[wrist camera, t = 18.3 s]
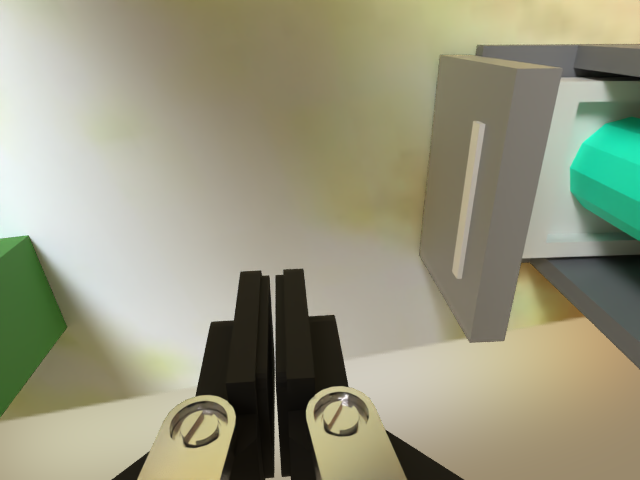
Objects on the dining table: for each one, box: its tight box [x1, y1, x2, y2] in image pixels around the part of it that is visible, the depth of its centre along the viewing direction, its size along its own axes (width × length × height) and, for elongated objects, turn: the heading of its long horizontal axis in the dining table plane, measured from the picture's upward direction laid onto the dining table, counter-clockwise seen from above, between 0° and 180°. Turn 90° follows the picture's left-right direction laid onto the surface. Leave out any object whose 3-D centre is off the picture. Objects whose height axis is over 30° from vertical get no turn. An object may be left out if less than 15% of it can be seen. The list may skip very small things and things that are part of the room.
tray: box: [419, 55, 640, 343], centre depth 25 cm, size 19×13×10 cm
